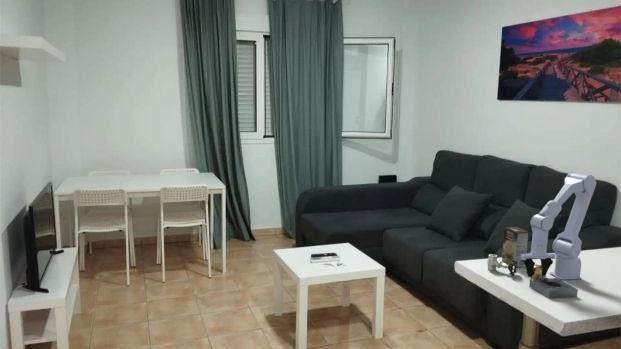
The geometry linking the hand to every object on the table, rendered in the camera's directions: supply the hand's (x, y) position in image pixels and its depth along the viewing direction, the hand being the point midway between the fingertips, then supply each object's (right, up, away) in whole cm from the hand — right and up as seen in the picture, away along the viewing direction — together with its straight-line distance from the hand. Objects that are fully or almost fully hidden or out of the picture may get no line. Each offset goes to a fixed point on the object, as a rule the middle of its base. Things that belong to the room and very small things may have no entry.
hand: (536, 276), depth 208 cm
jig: (+1, -4, -12) cm, 12 cm away
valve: (-11, -1, +10) cm, 15 cm away
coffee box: (-1, +1, +21) cm, 21 cm away
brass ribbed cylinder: (0, -2, 0) cm, 2 cm away
